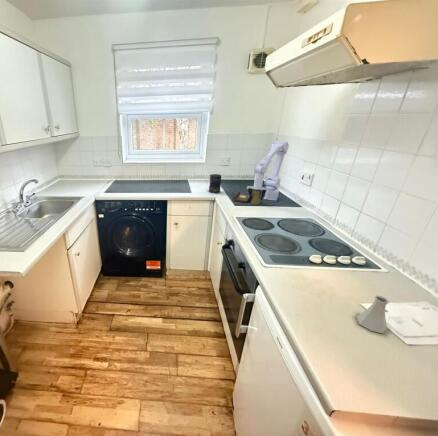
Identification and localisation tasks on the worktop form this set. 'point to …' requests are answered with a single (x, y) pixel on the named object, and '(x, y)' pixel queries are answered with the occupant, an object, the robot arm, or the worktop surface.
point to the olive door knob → (256, 197)
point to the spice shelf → (241, 197)
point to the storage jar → (215, 183)
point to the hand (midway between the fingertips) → (255, 199)
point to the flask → (375, 315)
